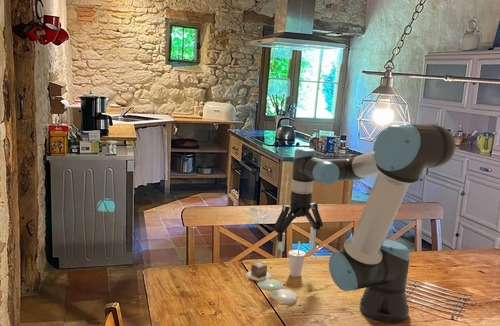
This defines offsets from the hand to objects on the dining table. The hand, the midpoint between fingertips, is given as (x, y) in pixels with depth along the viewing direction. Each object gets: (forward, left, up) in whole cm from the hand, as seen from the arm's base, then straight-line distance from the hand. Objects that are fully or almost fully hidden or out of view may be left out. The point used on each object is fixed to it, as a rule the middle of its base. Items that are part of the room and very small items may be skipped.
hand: (296, 247), depth 169 cm
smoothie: (0, 0, -12) cm, 12 cm away
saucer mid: (-4, +13, -12) cm, 18 cm away
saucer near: (-13, +13, -12) cm, 22 cm away
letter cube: (+4, +13, -10) cm, 17 cm away
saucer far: (+4, +13, -12) cm, 18 cm away
